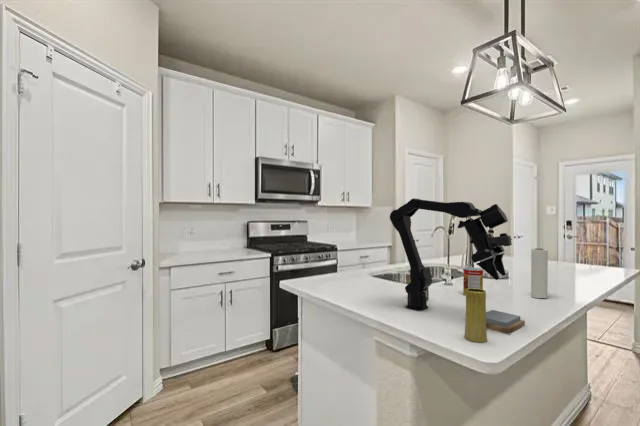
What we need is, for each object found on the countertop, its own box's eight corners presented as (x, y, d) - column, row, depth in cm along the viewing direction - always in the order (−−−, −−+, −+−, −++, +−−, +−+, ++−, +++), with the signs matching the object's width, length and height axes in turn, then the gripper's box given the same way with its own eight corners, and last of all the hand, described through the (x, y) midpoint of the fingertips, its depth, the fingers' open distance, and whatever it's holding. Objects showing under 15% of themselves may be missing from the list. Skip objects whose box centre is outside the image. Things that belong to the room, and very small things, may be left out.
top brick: (477, 320, 112) (477, 315, 112) (492, 314, 118) (492, 309, 118) (506, 327, 105) (506, 322, 105) (520, 320, 112) (520, 316, 112)
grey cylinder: (544, 300, 144) (544, 249, 144) (528, 297, 149) (529, 248, 149) (550, 297, 149) (550, 248, 149) (535, 294, 154) (535, 247, 154)
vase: (460, 338, 99) (461, 290, 99) (469, 333, 104) (469, 286, 104) (482, 344, 95) (482, 293, 95) (490, 338, 99) (490, 290, 99)
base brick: (472, 324, 112) (472, 320, 112) (490, 317, 120) (490, 313, 120) (508, 334, 103) (508, 329, 103) (524, 325, 111) (524, 320, 111)
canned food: (479, 293, 155) (479, 267, 155) (485, 297, 147) (485, 270, 147) (461, 293, 156) (461, 267, 156) (466, 297, 148) (466, 269, 148)
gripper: (494, 225, 105) (520, 272, 101) (507, 223, 120) (530, 265, 115) (461, 239, 112) (484, 285, 107) (477, 237, 126) (498, 276, 121)
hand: (501, 277), depth 112 cm, fingers open, 9 cm apart
